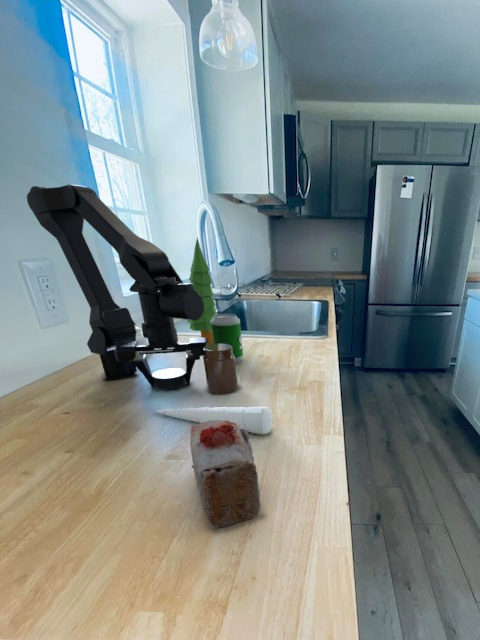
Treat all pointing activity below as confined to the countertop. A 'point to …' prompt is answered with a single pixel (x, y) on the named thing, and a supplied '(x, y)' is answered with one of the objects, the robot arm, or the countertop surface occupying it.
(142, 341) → the garlic bulb
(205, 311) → the decorative tree
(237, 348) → the soda can
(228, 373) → the coffee jar
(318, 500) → the countertop surface
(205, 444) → the food item
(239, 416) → the unicorn horn
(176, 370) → the jar lid
